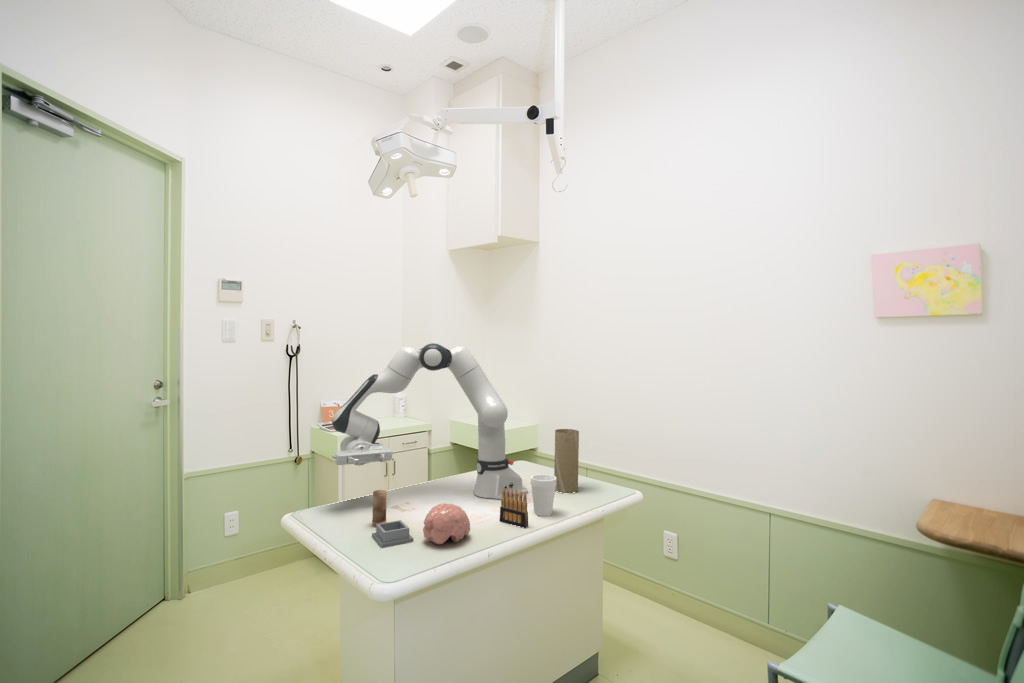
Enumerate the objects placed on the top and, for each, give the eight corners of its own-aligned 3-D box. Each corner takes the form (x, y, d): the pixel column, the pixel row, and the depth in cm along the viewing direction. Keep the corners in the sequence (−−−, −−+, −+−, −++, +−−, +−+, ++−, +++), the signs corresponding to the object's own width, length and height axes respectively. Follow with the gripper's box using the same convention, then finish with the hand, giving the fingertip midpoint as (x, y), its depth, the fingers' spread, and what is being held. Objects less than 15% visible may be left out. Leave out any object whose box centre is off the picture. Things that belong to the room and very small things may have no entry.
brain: (446, 543, 165) (458, 505, 168) (473, 553, 156) (484, 514, 160) (409, 535, 154) (422, 495, 158) (436, 546, 145) (449, 504, 149)
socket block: (402, 530, 163) (402, 518, 163) (413, 541, 155) (413, 528, 155) (371, 536, 158) (372, 523, 158) (381, 547, 150) (381, 534, 150)
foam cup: (524, 513, 182) (525, 477, 182) (541, 507, 189) (541, 472, 189) (545, 519, 176) (545, 482, 176) (561, 513, 183) (561, 477, 183)
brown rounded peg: (383, 521, 172) (384, 489, 172) (388, 525, 168) (388, 492, 168) (370, 523, 169) (371, 490, 169) (374, 528, 165) (375, 494, 165)
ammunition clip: (499, 521, 173) (499, 486, 174) (502, 520, 175) (503, 485, 175) (525, 528, 167) (525, 492, 167) (528, 526, 169) (528, 491, 169)
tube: (574, 486, 217) (575, 428, 217) (580, 493, 207) (581, 433, 207) (551, 487, 216) (552, 428, 216) (556, 494, 206) (558, 433, 206)
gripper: (331, 446, 185) (339, 454, 173) (385, 442, 196) (397, 449, 184) (330, 463, 185) (338, 472, 173) (385, 458, 196) (396, 466, 184)
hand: (369, 460), depth 179 cm, fingers open, 8 cm apart
